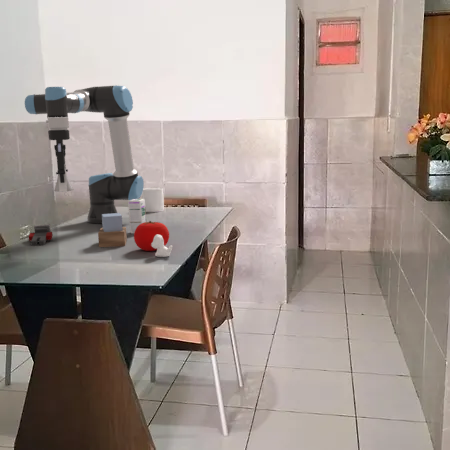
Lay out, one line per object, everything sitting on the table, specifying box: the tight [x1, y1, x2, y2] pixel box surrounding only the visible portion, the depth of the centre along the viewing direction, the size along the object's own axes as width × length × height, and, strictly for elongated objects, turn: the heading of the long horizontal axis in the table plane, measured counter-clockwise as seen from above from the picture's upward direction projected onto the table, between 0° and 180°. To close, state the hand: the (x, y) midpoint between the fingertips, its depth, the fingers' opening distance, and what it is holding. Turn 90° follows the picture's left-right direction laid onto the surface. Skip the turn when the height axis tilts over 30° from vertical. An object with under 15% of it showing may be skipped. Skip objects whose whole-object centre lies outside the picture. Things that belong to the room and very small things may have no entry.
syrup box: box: [127, 198, 147, 235], centre depth 243 cm, size 6×6×14 cm
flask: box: [53, 163, 74, 193], centre depth 212 cm, size 7×7×10 cm
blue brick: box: [101, 212, 124, 232], centre depth 220 cm, size 7×7×6 cm
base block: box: [97, 226, 128, 248], centre depth 222 cm, size 10×10×6 cm
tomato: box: [133, 220, 170, 252], centre depth 209 cm, size 12×13×11 cm
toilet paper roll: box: [141, 186, 165, 213], centre depth 303 cm, size 12×12×12 cm
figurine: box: [151, 234, 173, 258], centre depth 198 cm, size 5×8×8 cm
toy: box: [28, 223, 54, 247], centre depth 230 cm, size 9×6×15 cm
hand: (63, 190), depth 213 cm, fingers closed on flask, 7 cm apart
